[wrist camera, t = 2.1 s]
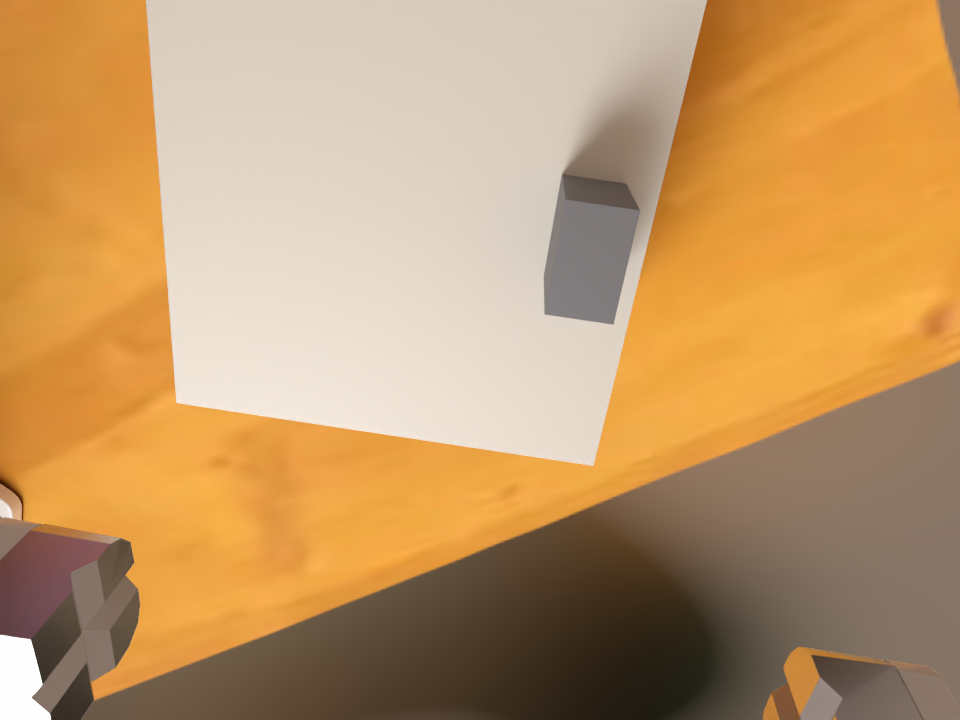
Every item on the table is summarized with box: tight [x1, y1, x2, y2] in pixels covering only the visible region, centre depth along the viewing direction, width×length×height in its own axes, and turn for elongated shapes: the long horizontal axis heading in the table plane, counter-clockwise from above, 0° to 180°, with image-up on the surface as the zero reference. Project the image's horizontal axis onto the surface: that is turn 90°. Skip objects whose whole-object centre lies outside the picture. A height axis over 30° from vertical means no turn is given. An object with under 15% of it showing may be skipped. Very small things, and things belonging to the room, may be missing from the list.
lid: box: [146, 0, 707, 466], centre depth 25 cm, size 21×19×5 cm
